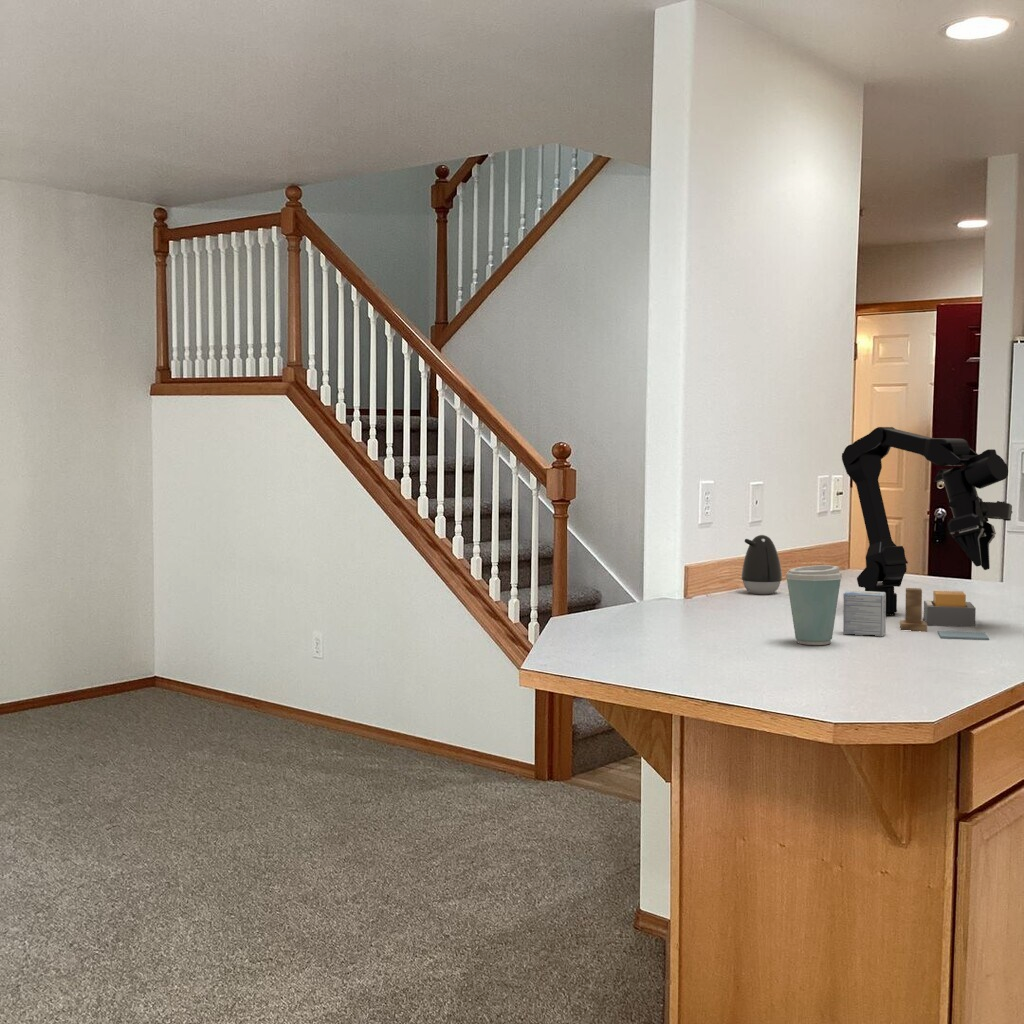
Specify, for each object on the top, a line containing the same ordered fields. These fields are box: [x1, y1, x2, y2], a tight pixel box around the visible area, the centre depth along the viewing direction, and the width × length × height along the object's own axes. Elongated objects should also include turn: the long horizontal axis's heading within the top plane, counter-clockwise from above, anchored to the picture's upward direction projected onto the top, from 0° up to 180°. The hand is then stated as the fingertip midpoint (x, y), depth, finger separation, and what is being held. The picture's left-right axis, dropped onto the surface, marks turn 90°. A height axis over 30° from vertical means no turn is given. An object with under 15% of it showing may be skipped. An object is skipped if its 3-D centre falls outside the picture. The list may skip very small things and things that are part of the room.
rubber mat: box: [937, 630, 990, 641], centre depth 235 cm, size 9×7×1 cm
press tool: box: [899, 587, 928, 633], centre depth 244 cm, size 5×5×8 cm
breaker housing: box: [923, 600, 977, 628], centre depth 252 cm, size 10×10×4 cm
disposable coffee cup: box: [785, 564, 843, 646], centre depth 228 cm, size 11×11×15 cm
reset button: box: [932, 590, 967, 607], centre depth 252 cm, size 6×6×3 cm
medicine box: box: [842, 590, 887, 637], centre depth 238 cm, size 8×4×9 cm, turn 65°
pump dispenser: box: [741, 534, 783, 596], centre depth 302 cm, size 10×10×15 cm
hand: (982, 567), depth 241 cm, fingers open, 9 cm apart
